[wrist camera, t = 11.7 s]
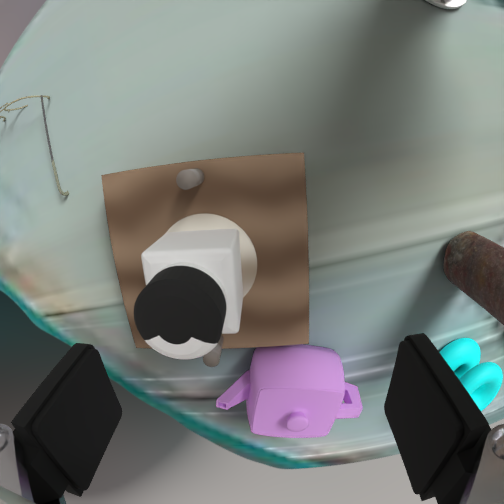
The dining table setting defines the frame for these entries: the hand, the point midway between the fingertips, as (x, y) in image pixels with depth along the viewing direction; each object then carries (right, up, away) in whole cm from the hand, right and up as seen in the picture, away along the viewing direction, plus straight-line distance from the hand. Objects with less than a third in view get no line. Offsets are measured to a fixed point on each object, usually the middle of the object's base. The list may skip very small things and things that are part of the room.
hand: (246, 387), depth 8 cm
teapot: (+5, -12, +32) cm, 34 cm away
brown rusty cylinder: (+28, +3, +26) cm, 38 cm away
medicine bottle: (-4, +3, +22) cm, 22 cm away
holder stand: (-4, +4, +27) cm, 27 cm away
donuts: (+32, -14, +31) cm, 47 cm away
